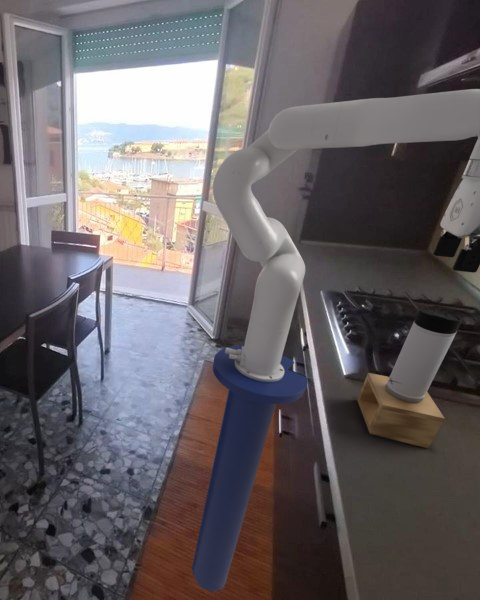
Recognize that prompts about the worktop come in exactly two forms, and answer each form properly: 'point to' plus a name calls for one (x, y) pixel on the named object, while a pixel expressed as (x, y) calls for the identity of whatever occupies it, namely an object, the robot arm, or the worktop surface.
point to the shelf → (398, 414)
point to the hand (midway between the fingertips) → (452, 263)
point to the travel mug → (422, 354)
